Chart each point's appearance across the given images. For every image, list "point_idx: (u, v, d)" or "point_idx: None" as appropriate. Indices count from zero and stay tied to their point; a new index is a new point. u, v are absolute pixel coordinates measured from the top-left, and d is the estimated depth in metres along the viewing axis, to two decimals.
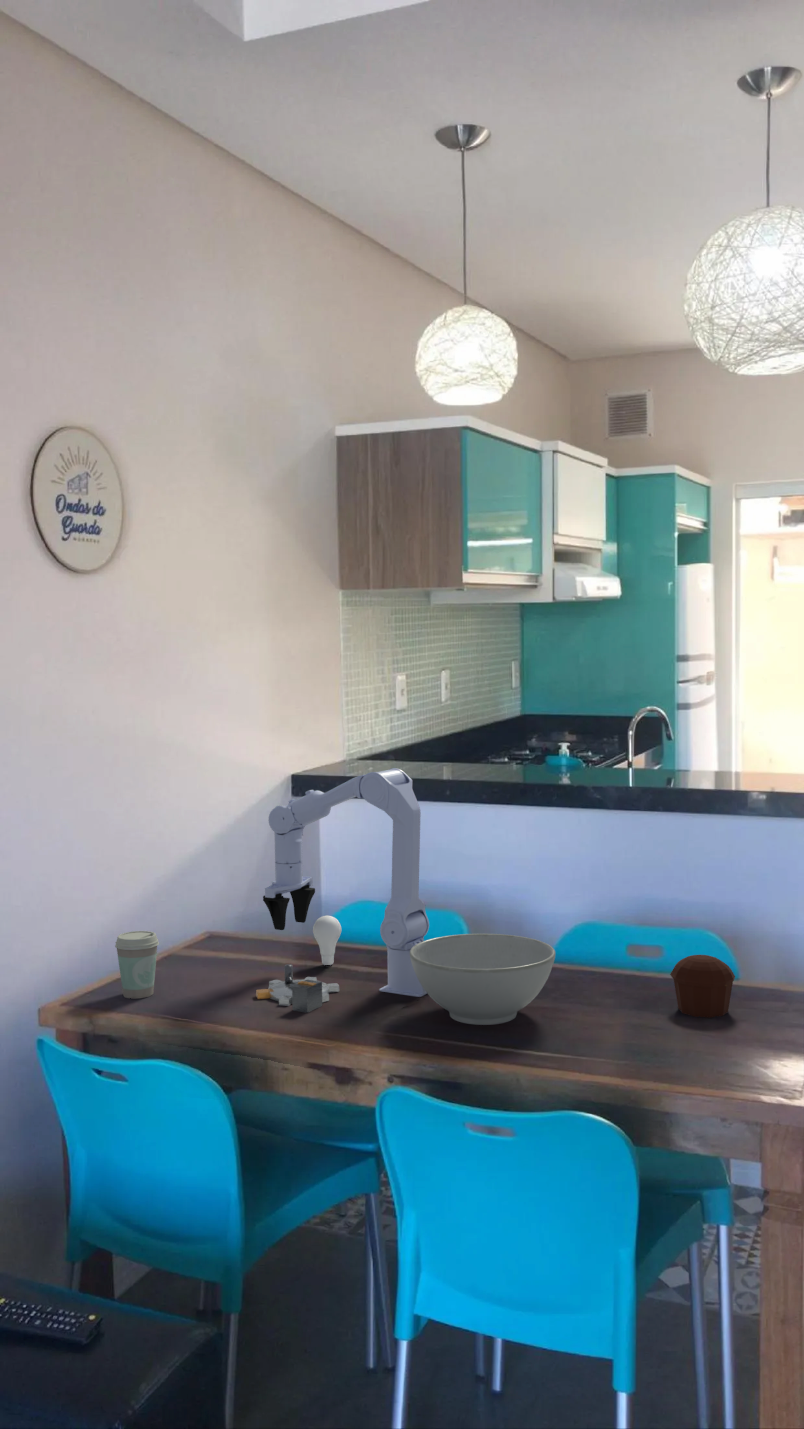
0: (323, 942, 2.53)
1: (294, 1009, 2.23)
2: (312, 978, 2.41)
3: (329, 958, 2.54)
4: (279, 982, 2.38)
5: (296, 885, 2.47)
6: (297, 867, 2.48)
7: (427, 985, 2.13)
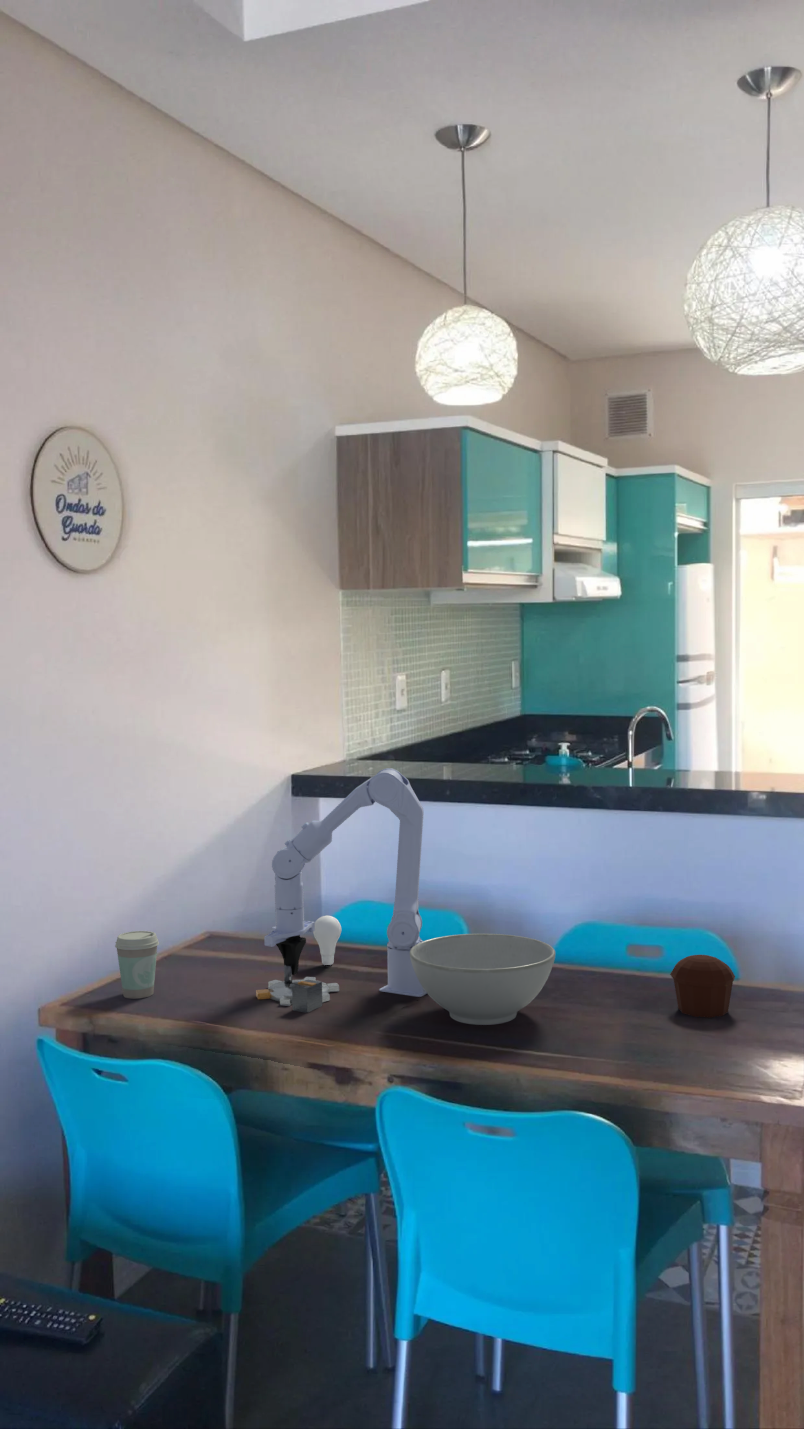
0: (323, 942, 2.53)
1: (294, 1009, 2.23)
2: (311, 978, 2.41)
3: (329, 958, 2.54)
4: (278, 982, 2.38)
5: (297, 932, 2.36)
6: (298, 913, 2.36)
7: (427, 985, 2.13)
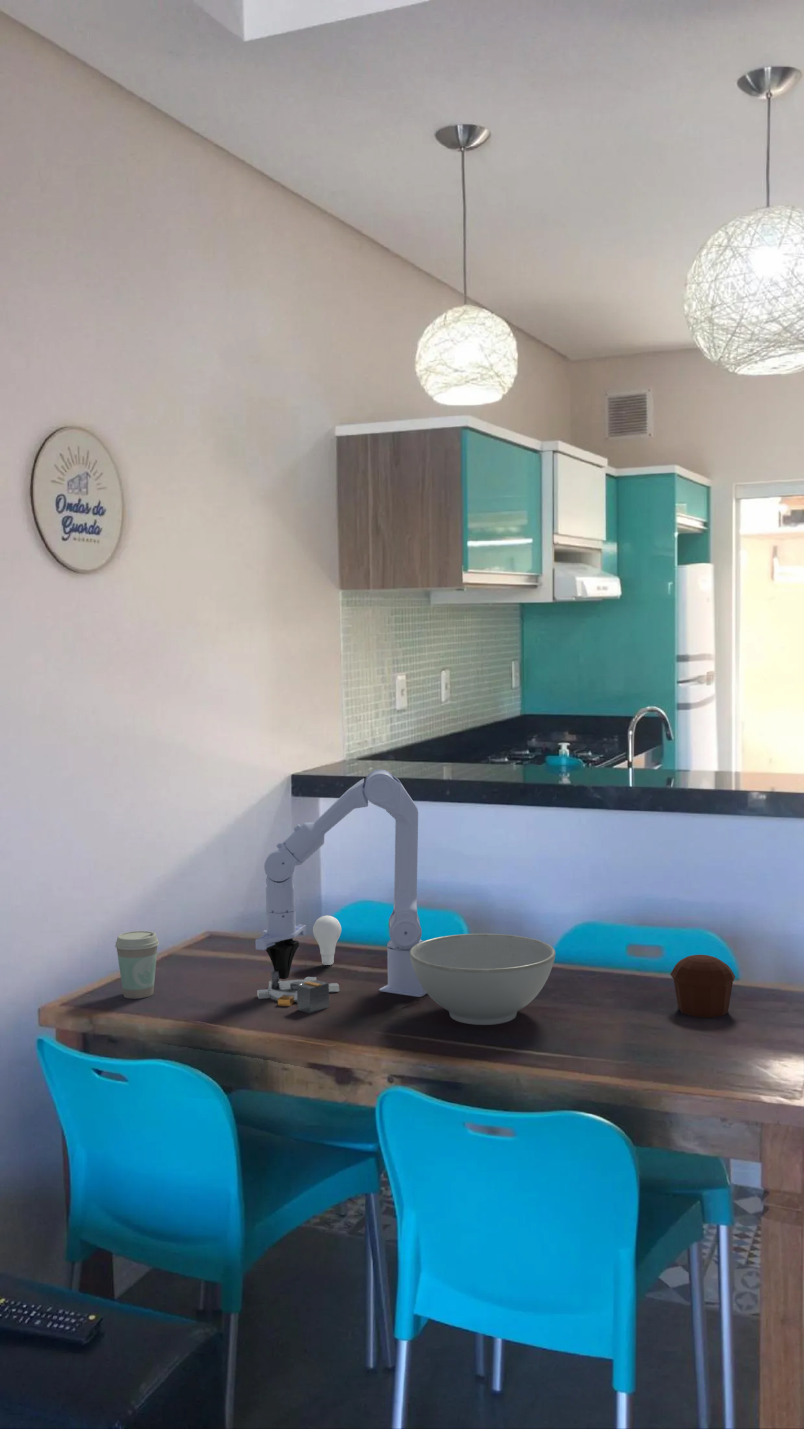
0: (323, 942, 2.53)
1: (299, 1009, 2.23)
2: None
3: (329, 958, 2.54)
4: (269, 990, 2.33)
5: (289, 935, 2.33)
6: (290, 916, 2.33)
7: (427, 985, 2.13)
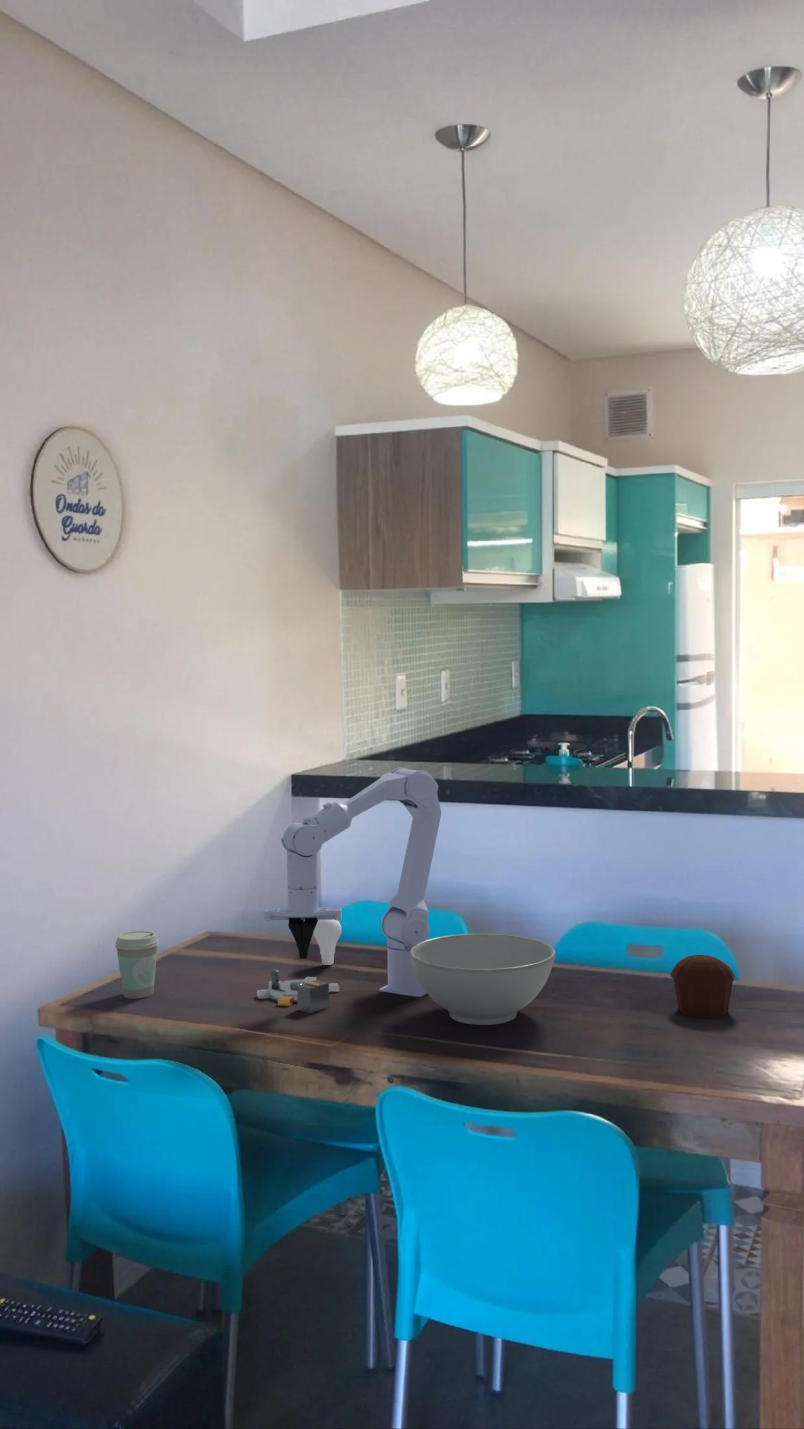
0: (323, 942, 2.53)
1: (299, 1009, 2.23)
2: None
3: (329, 958, 2.54)
4: (269, 990, 2.33)
5: (294, 913, 2.23)
6: (297, 894, 2.23)
7: (427, 985, 2.13)
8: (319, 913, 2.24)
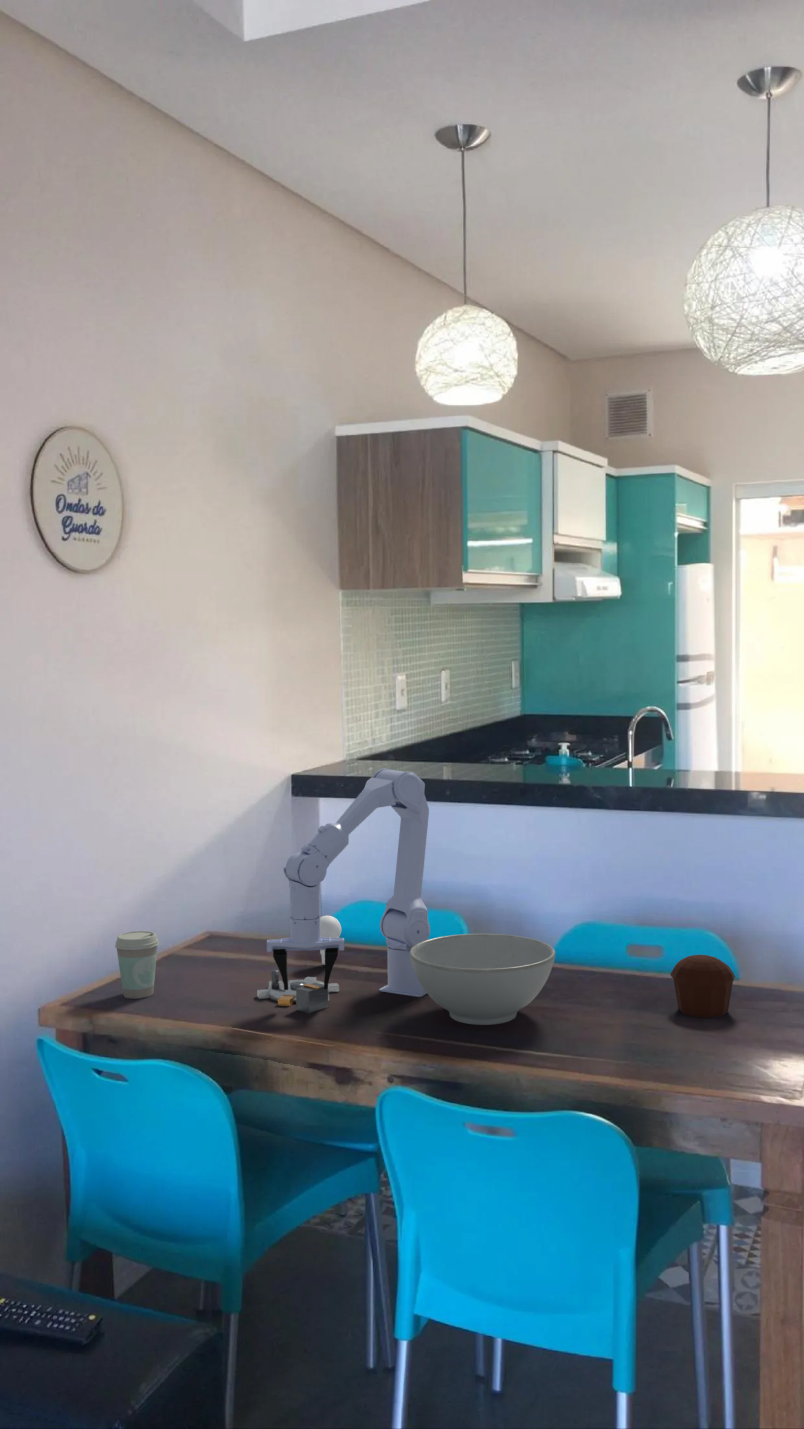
0: None
1: None
2: None
3: None
4: (269, 990, 2.33)
5: (298, 944, 2.21)
6: (301, 924, 2.21)
7: (427, 985, 2.13)
8: (323, 943, 2.22)
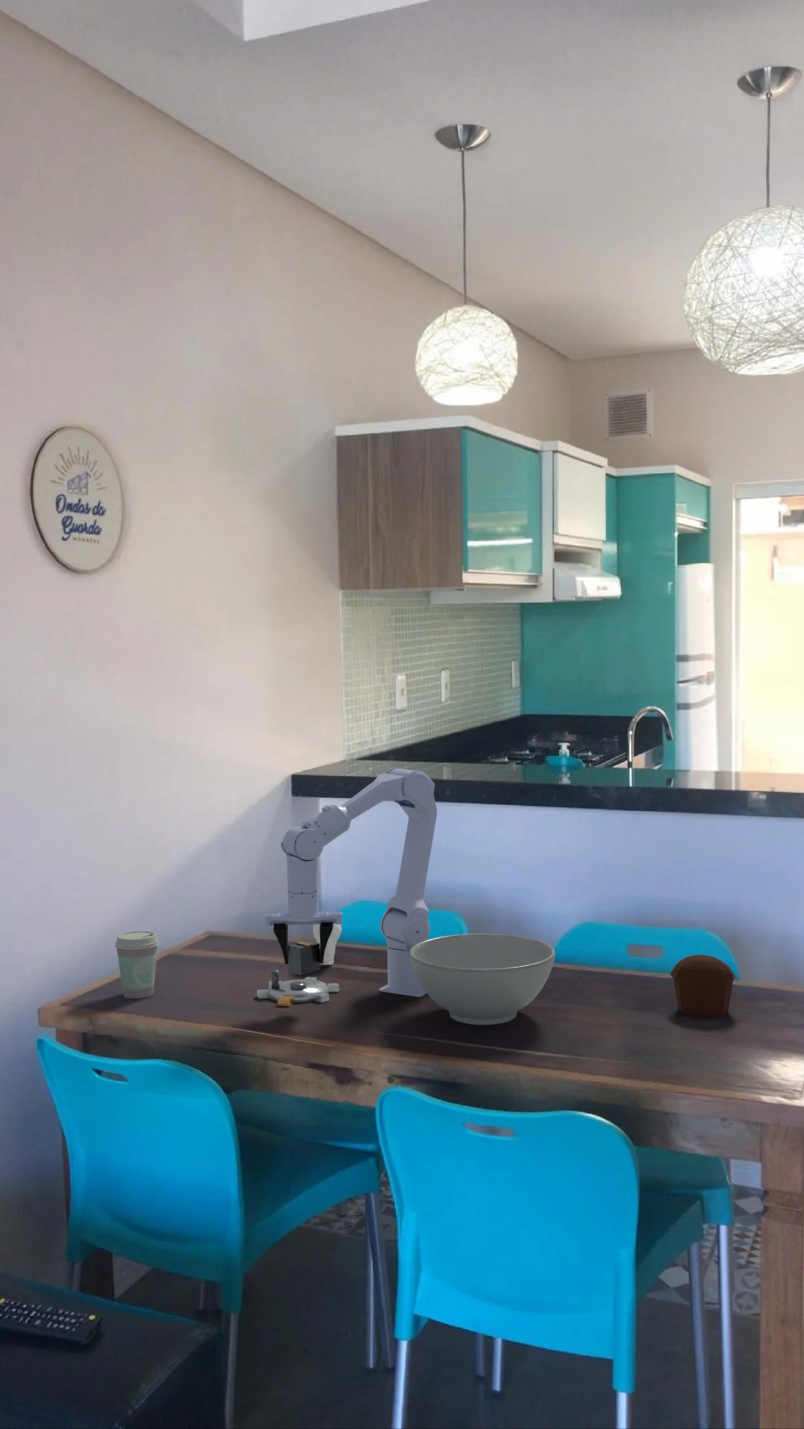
0: None
1: (290, 969, 2.23)
2: None
3: (329, 958, 2.54)
4: (269, 990, 2.33)
5: (295, 918, 2.21)
6: (298, 898, 2.21)
7: (427, 985, 2.13)
8: (320, 917, 2.22)
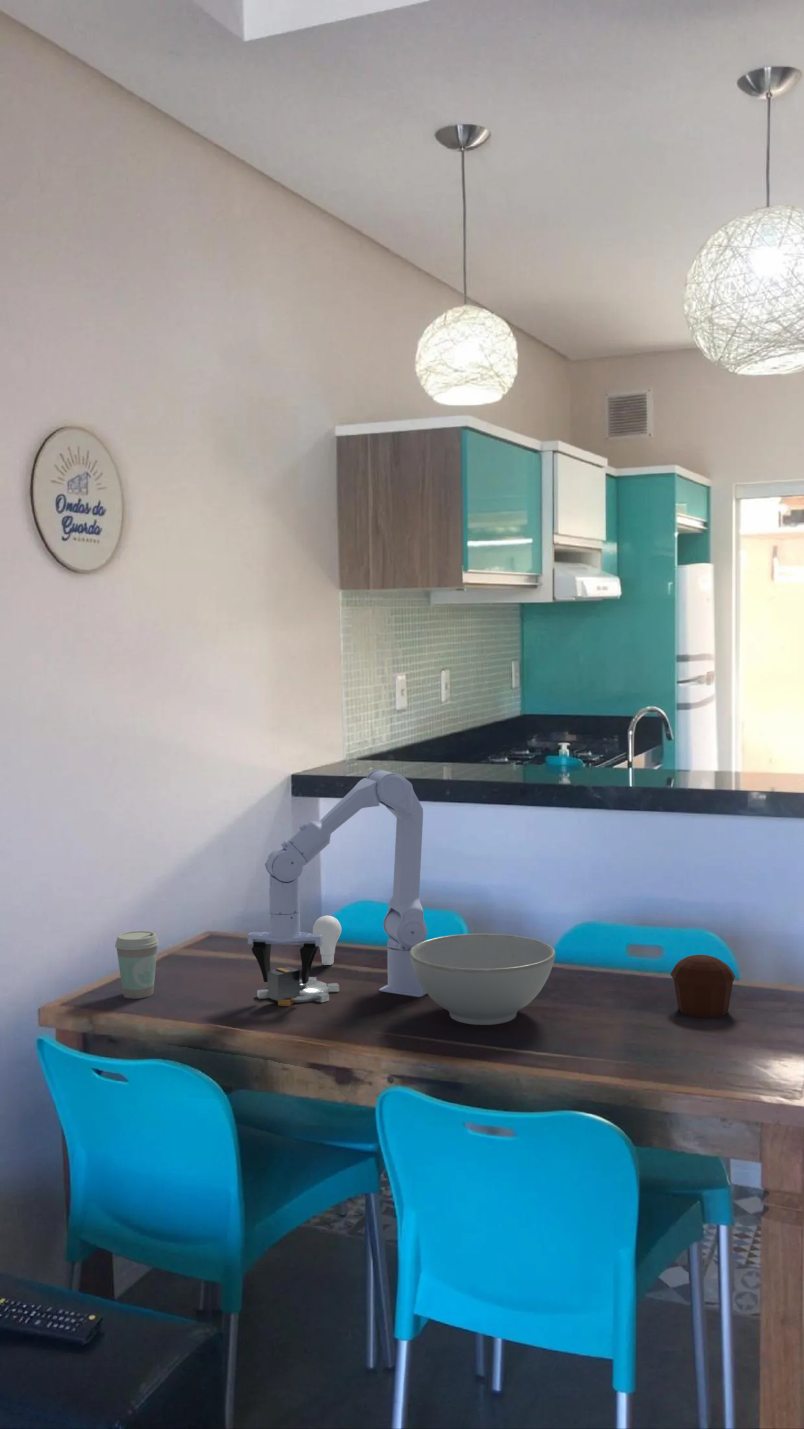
0: (323, 942, 2.53)
1: (269, 994, 2.28)
2: None
3: (329, 958, 2.54)
4: None
5: (274, 938, 2.26)
6: (276, 919, 2.26)
7: (427, 985, 2.13)
8: (299, 938, 2.26)
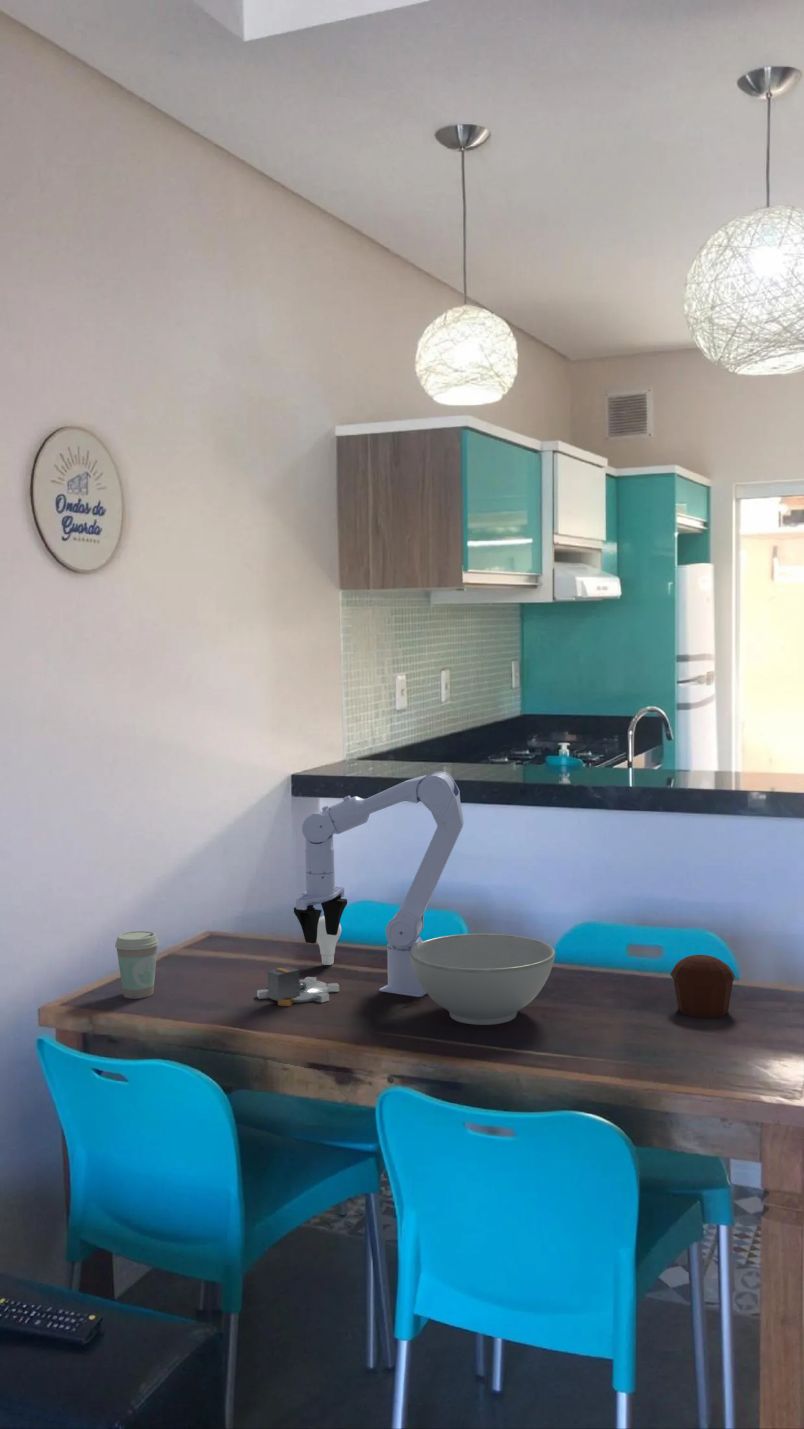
0: (323, 942, 2.53)
1: (269, 994, 2.28)
2: None
3: (329, 958, 2.54)
4: None
5: (328, 896, 2.36)
6: (329, 877, 2.37)
7: (427, 985, 2.13)
8: (338, 892, 2.41)
